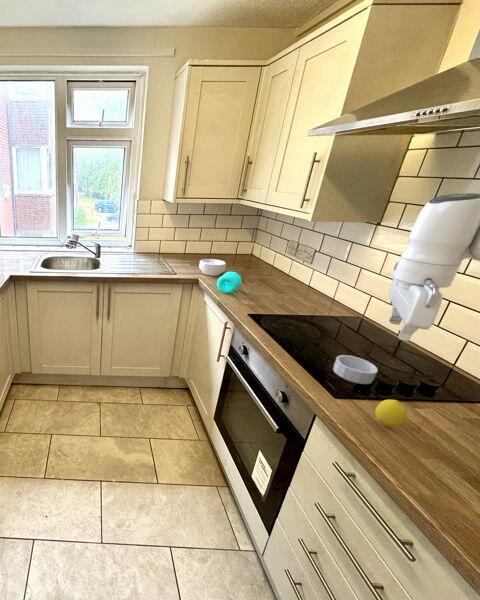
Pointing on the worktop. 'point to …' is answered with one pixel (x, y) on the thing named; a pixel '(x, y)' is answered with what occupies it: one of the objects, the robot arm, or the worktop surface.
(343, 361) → the pale grey round dish
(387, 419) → the lemon
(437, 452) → the worktop surface
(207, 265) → the paper bowls
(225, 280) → the turquoise rounded cylinder
